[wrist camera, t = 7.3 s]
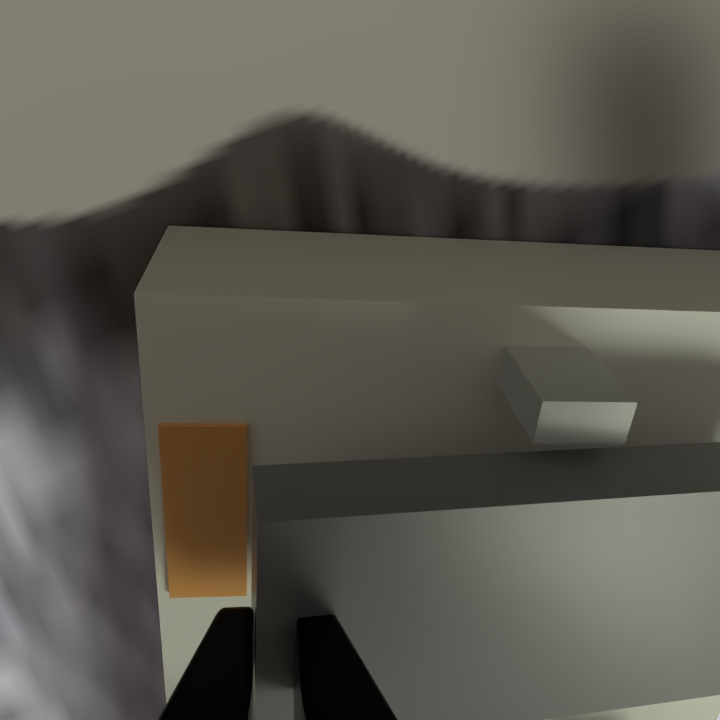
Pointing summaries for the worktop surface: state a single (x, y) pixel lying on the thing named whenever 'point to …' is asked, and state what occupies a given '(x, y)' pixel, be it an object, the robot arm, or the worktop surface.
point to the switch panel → (397, 376)
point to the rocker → (496, 578)
